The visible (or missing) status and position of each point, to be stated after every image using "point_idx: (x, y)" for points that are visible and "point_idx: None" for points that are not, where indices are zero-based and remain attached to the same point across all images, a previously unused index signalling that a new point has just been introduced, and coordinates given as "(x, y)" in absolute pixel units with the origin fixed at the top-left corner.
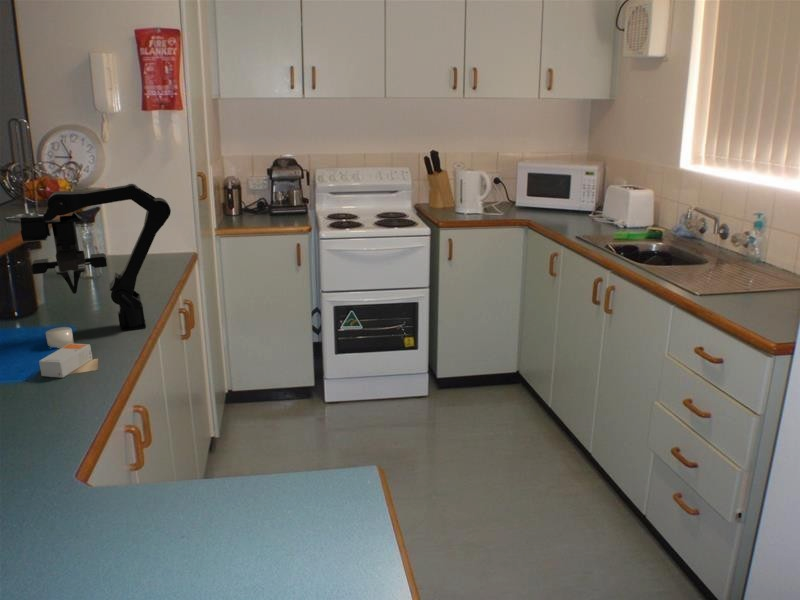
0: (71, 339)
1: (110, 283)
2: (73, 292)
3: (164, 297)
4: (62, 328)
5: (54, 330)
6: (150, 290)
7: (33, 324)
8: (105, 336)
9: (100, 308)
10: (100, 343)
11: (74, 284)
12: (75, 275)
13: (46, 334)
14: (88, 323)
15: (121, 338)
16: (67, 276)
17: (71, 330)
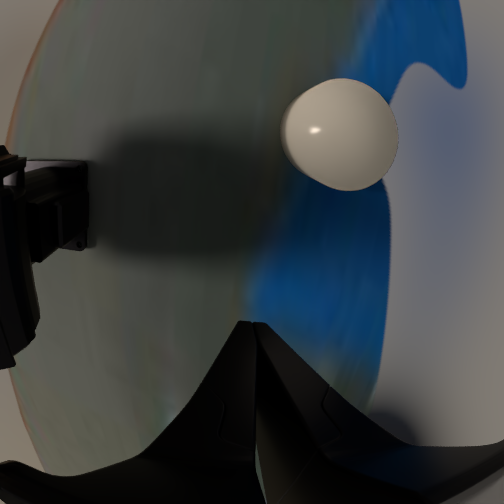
0: (293, 102)
1: (4, 361)
2: (262, 327)
3: (26, 399)
4: (329, 164)
5: (363, 158)
6: (70, 448)
7: (349, 382)
8: (152, 133)
9: (165, 421)
10: (184, 57)
11: (250, 372)
12: (223, 467)
13: (396, 126)
14: (201, 326)
15: (104, 80)
16: (357, 457)
17: (294, 113)
